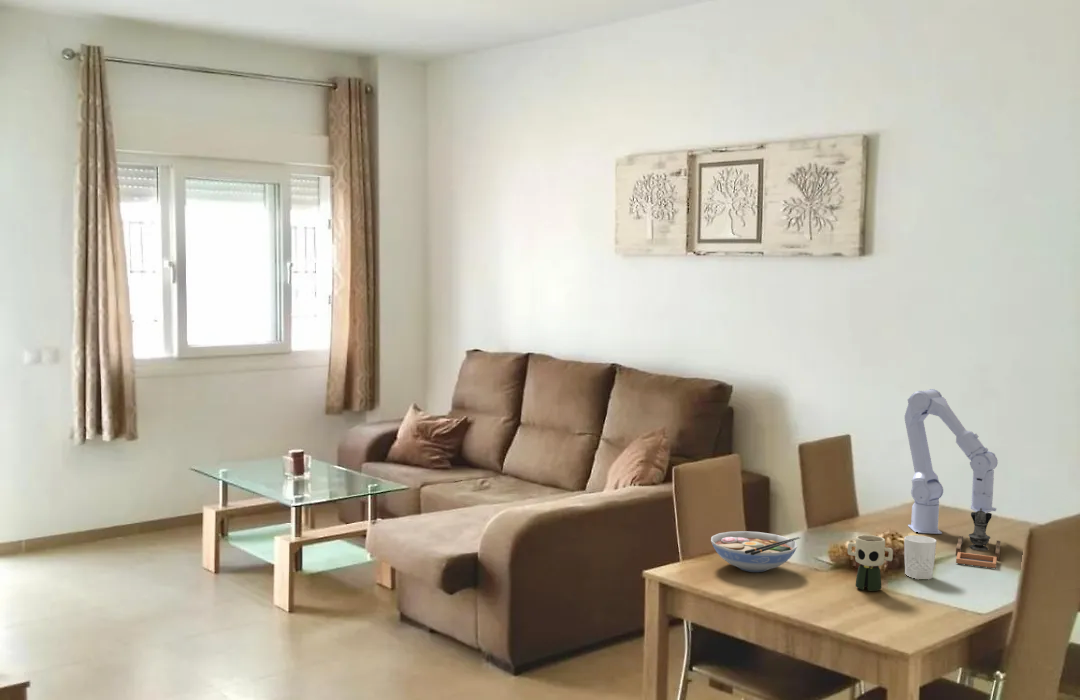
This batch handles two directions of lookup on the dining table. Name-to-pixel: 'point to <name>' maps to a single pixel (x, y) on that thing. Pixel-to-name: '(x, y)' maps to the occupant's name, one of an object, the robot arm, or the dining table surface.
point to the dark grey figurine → (979, 532)
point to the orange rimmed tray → (960, 542)
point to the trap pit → (976, 560)
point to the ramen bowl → (753, 549)
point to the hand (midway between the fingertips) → (980, 537)
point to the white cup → (919, 556)
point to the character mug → (869, 560)
